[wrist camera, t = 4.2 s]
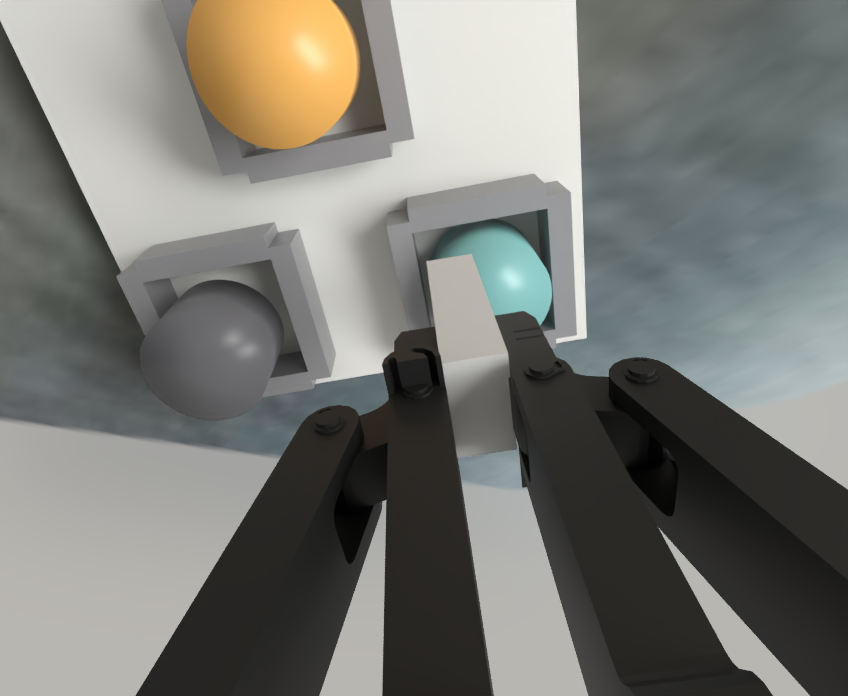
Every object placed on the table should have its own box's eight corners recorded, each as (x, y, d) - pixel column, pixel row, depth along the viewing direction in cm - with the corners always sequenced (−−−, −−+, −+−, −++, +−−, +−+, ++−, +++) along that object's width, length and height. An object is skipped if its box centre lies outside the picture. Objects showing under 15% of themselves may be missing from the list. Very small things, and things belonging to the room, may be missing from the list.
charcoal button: (197, 384, 26) (169, 428, 23) (154, 290, 24) (116, 326, 20) (297, 367, 26) (282, 409, 23) (264, 270, 23) (243, 303, 20)
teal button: (439, 324, 27) (443, 359, 24) (421, 228, 25) (424, 253, 21) (537, 307, 27) (555, 340, 24) (529, 208, 24) (548, 231, 21)
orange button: (248, 146, 21) (221, 162, 18) (199, -6, 18) (158, -18, 15) (374, 121, 20) (369, 133, 17) (341, -36, 18) (329, -54, 15)
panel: (197, 385, 31) (169, 431, 27) (9, -25, 21) (-74, -41, 18) (575, 321, 30) (600, 359, 26) (556, -145, 20) (590, -190, 16)
